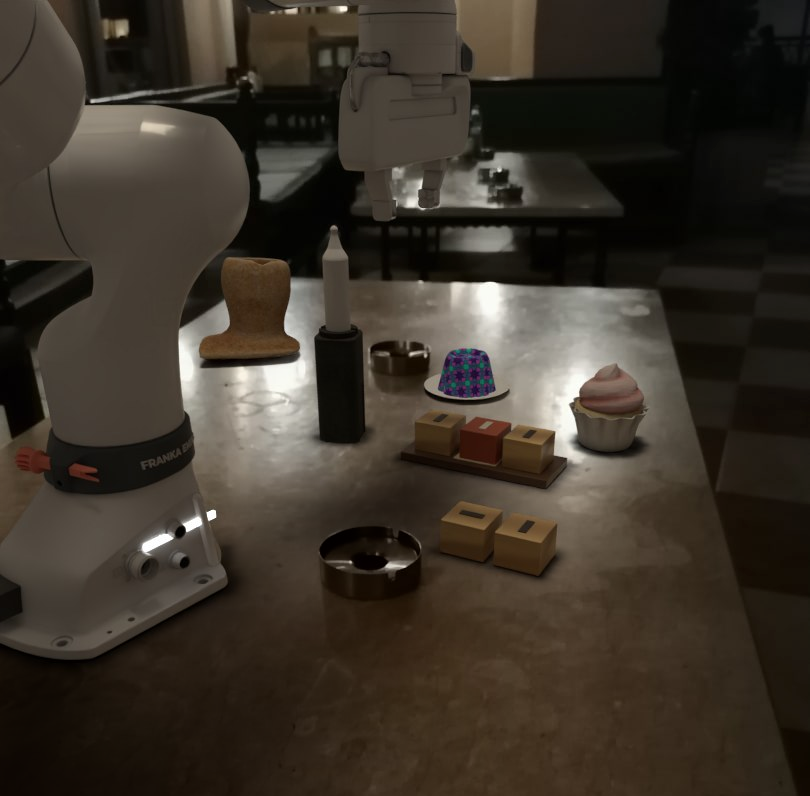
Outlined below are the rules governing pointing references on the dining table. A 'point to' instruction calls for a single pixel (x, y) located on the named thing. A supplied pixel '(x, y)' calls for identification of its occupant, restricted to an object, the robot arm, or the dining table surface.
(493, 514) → the tile
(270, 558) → the dining table surface
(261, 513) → the dining table surface
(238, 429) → the dining table surface
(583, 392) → the cupcake
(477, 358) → the pudding
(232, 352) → the stone cup
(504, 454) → the tray with tiles
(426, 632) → the dining table surface
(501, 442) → the red cube
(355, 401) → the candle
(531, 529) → the tan wooden cube
